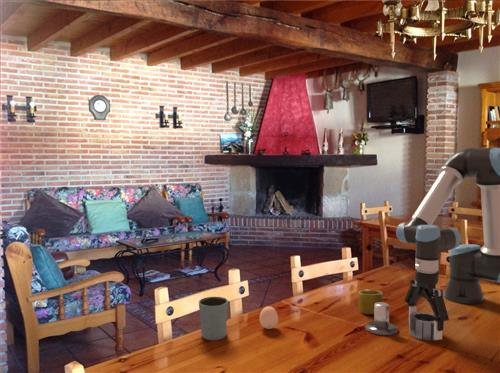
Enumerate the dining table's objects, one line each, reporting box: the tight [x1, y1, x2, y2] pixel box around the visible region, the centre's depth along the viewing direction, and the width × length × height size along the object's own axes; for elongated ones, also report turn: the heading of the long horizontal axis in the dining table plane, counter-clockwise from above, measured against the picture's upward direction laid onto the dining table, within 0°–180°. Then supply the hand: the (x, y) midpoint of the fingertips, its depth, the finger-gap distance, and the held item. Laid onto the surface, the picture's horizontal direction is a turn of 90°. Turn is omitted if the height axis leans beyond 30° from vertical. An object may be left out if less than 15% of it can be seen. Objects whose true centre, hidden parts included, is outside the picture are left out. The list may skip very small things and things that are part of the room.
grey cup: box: [198, 296, 229, 341], centre depth 155 cm, size 10×10×12 cm
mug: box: [357, 288, 384, 316], centre depth 177 cm, size 12×10×10 cm
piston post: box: [365, 302, 399, 337], centre depth 159 cm, size 11×11×9 cm
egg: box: [259, 306, 279, 330], centre depth 160 cm, size 7×7×8 cm
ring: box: [408, 311, 436, 342], centre depth 155 cm, size 10×10×6 cm
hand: (424, 331), depth 155 cm, fingers open, 13 cm apart
